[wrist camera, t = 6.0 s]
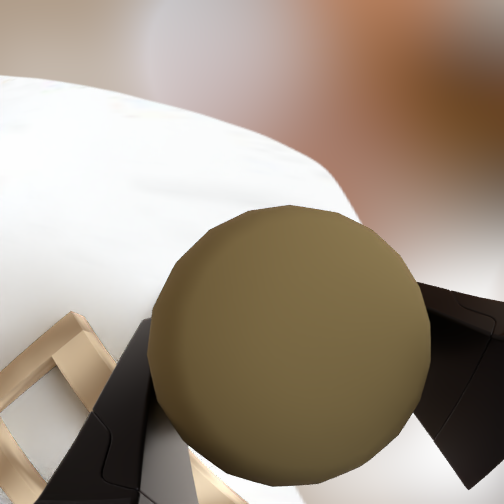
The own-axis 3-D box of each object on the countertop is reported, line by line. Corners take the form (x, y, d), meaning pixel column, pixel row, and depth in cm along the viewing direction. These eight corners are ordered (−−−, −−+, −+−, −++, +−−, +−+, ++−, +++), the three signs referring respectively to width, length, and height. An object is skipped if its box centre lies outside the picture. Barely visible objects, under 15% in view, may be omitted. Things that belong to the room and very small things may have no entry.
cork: (160, 400, 13) (59, 481, 3) (193, 280, 15) (181, 112, 5) (285, 429, 13) (438, 521, 3) (311, 312, 15) (475, 215, 5)
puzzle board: (284, 530, 16) (296, 550, 13) (149, 600, 11) (145, 621, 8) (84, 316, 20) (66, 308, 16) (-27, 412, 15) (-50, 415, 12)
